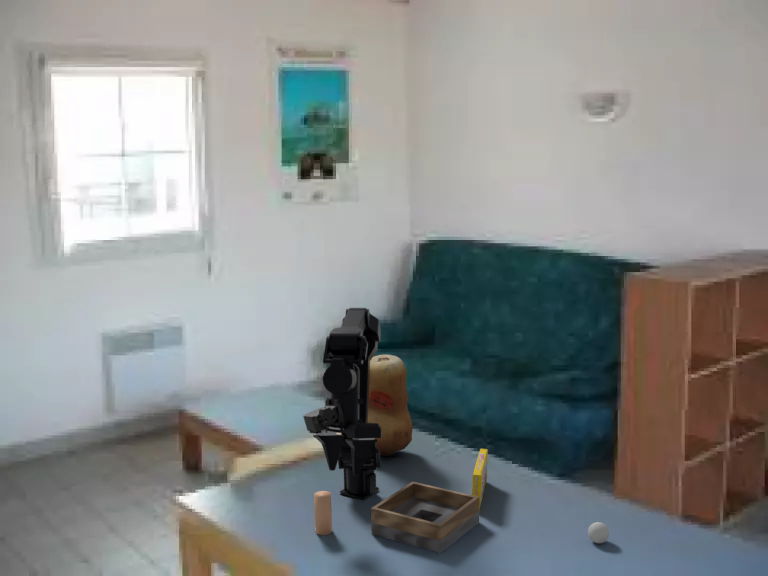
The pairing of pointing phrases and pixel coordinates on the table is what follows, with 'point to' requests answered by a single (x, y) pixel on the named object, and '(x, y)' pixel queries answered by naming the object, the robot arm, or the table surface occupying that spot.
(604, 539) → the sports ball
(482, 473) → the candy box
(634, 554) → the table surface
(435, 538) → the bore box
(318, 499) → the peg
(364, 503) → the table surface
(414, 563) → the table surface
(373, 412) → the butternut squash
